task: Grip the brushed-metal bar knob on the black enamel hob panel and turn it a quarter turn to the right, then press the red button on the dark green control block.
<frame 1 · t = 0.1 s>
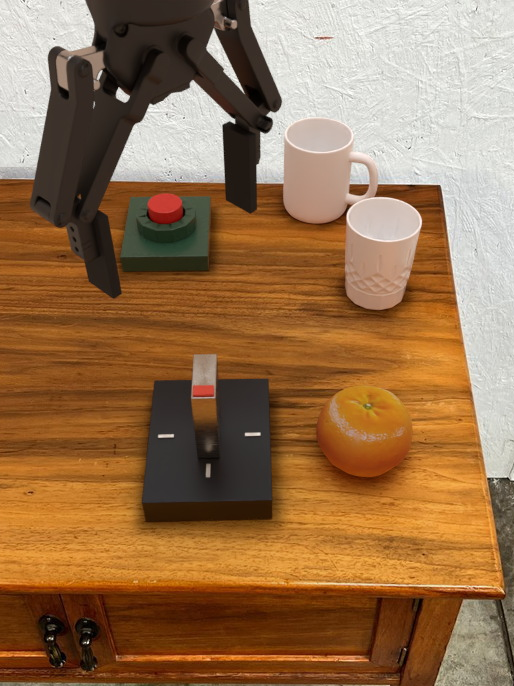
hand: (177, 244, 58), 22 cm above the table, tool pointing down, fingers open, 13 cm apart
start button: (165, 209, 91), point 4 cm above the table, slide at 0.1 cm
fruit: (360, 454, 73), on the table
button block: (169, 239, 95), on the table
white cup: (374, 292, 89), on the table
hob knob: (206, 406, 67), point 7 cm above the table, hinge at 0.0°
hob panel: (211, 456, 72), on the table
cup: (328, 210, 99), on the table
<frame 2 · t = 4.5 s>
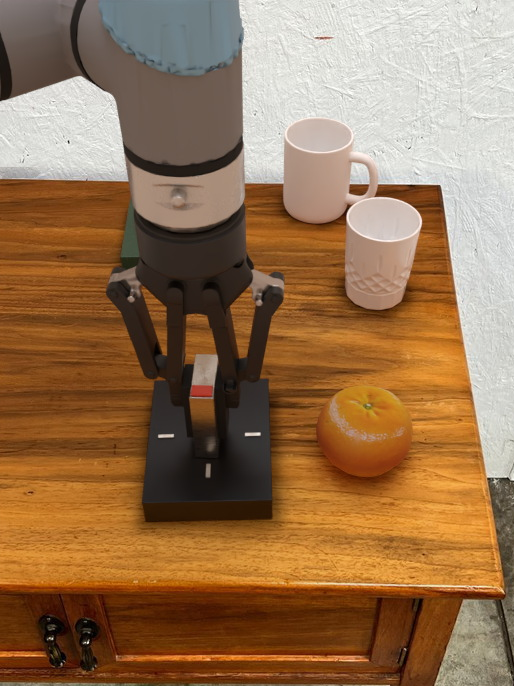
hand: (208, 425, 69), 4 cm above the table, tool pointing down, fingers closed on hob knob, 2 cm apart
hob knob: (206, 406, 67), point 7 cm above the table, hinge at -4.0°, touching gripper
everything else where it was.
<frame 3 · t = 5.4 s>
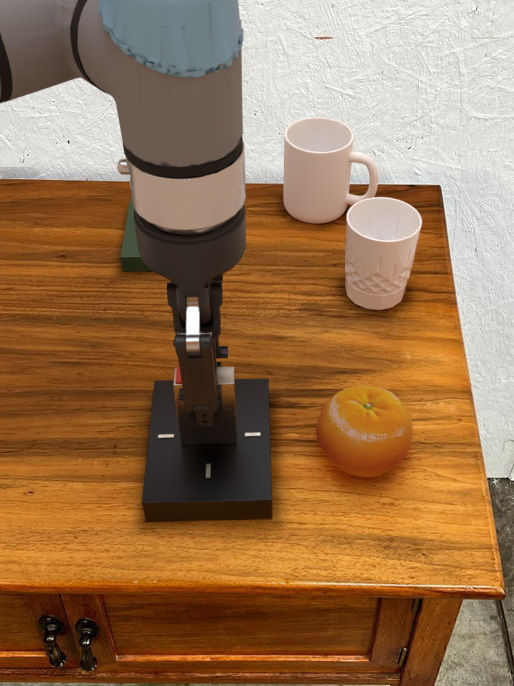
hand: (208, 426, 69), 4 cm above the table, tool pointing down, fingers open, 2 cm apart
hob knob: (206, 406, 67), point 7 cm above the table, hinge at -90.0°
everything else where it was.
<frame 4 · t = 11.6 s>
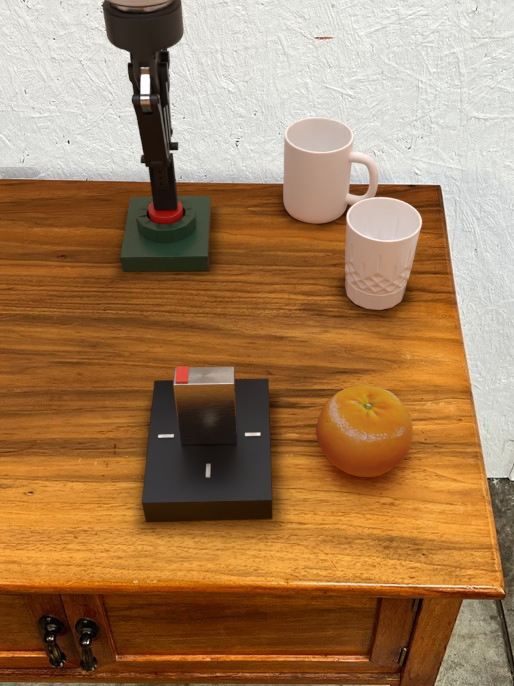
hand: (166, 205, 91), 5 cm above the table, tool pointing down, fingers closed
start button: (166, 213, 92), point 4 cm above the table, slide at -0.5 cm, touching gripper
everything else where it was.
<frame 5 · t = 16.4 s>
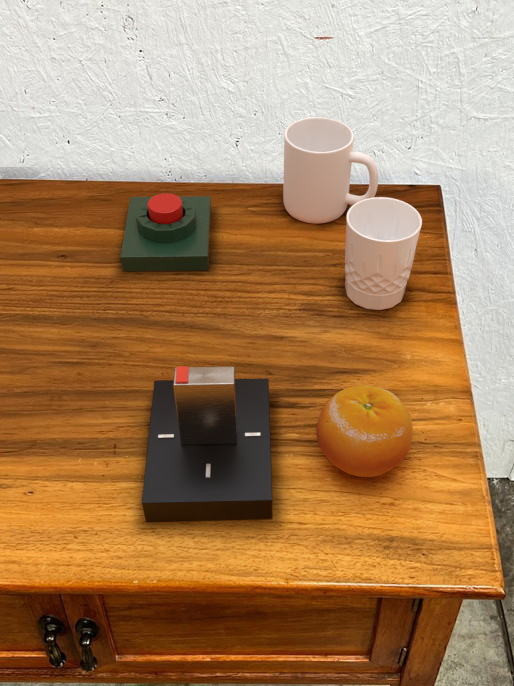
start button: (165, 209, 91), point 4 cm above the table, slide at 0.1 cm
everything else where it was.
at the end: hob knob at -90° (first picture: +0°); start button pushed in 1.0 cm at the most during the clip, back to where it started at the end; start button slide at 0.1 cm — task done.
